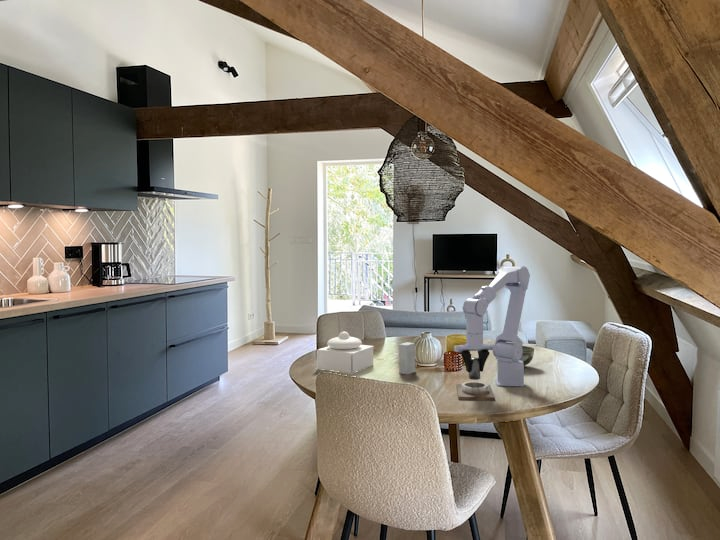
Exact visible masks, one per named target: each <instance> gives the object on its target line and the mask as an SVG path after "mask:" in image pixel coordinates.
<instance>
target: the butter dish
mask: <svg viewBox="0 0 720 540" xmlns="http://www.w3.org/2000/svg"><path fill="white" fill-rule="evenodd" d="M326 344H327V346H325V347H321V348H319V349H317V350H316V370H317V369H325V370H334V371H339V372H344V373H343V374H346V373H349V374H348V375H352V374H351V373H354V374H356V373H355V372H356V371H359V372H361V371H360V370H362V369H364V370H366V369H369V368H371V367H373V366H374V348H375V346H374V345H366V344H363V342H362V340H361V339H360V338H359V337H358V338H357V337H354V336H350V334H349V332H348V331H341V332H339V334H338V336H336V337H333V338H330V339H329V340H328V341H327V342H326ZM368 367H369V368H368ZM365 368H366V369H365ZM362 371H363V370H362ZM339 372H338V373H339Z"/></svg>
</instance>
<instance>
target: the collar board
mask: <svg viewBox="0 0 720 540" xmlns="http://www.w3.org/2000/svg"><path fill="white" fill-rule="evenodd" d="M455 387H456V392H457V397H458V400H464V401H465V400H466V401H468V400H469V401H496V397H495V394H494V392H493V389H492V387H491V385H490V384H487V383H485V382H482V381H481V382H480V381H465V382H463V383H461V384H460V383H459V384H458V383H457V384H456V385H455Z"/></svg>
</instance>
